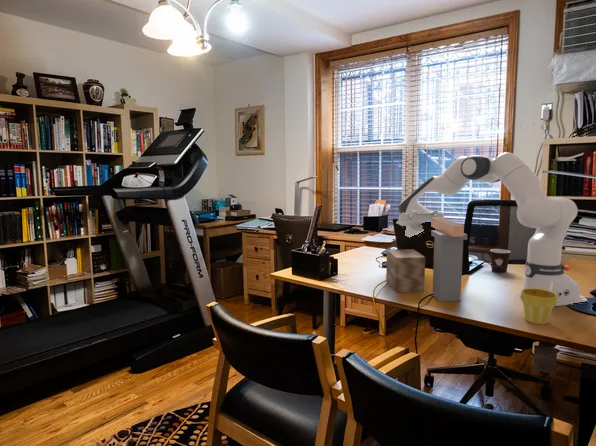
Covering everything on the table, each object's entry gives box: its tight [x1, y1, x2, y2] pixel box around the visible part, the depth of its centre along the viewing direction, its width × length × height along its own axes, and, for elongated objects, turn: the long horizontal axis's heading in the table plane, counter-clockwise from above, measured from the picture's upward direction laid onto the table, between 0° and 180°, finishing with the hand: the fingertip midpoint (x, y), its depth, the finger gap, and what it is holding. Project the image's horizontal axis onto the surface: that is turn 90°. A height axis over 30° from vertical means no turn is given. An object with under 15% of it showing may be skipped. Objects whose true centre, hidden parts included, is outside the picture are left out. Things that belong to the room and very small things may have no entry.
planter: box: [431, 217, 465, 237], centre depth 162 cm, size 4×22×4 cm, turn 2°
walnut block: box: [385, 248, 426, 293], centre depth 178 cm, size 12×15×14 cm
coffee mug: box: [481, 248, 511, 274], centre depth 201 cm, size 12×9×10 cm
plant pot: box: [520, 288, 557, 325], centre depth 139 cm, size 10×10×10 cm
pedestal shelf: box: [430, 229, 468, 302], centre depth 162 cm, size 10×10×26 cm
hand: (426, 212), depth 185 cm, fingers open, 8 cm apart
